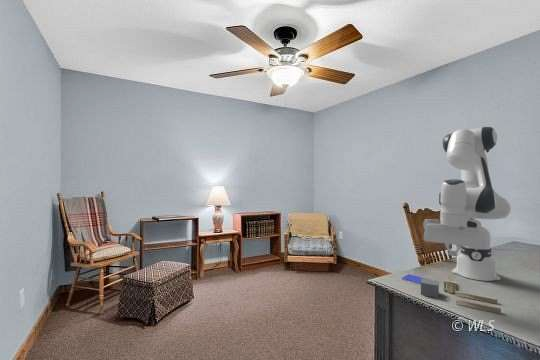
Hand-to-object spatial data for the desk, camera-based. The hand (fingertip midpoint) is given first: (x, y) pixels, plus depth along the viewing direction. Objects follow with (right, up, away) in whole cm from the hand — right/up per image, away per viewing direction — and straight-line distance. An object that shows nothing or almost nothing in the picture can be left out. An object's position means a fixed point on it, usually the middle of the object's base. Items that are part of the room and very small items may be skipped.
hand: (452, 255), depth 110 cm
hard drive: (-4, -17, +17) cm, 25 cm away
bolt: (+5, -17, +10) cm, 20 cm away
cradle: (+4, -16, -3) cm, 17 cm away
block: (-7, -17, +3) cm, 18 cm away
